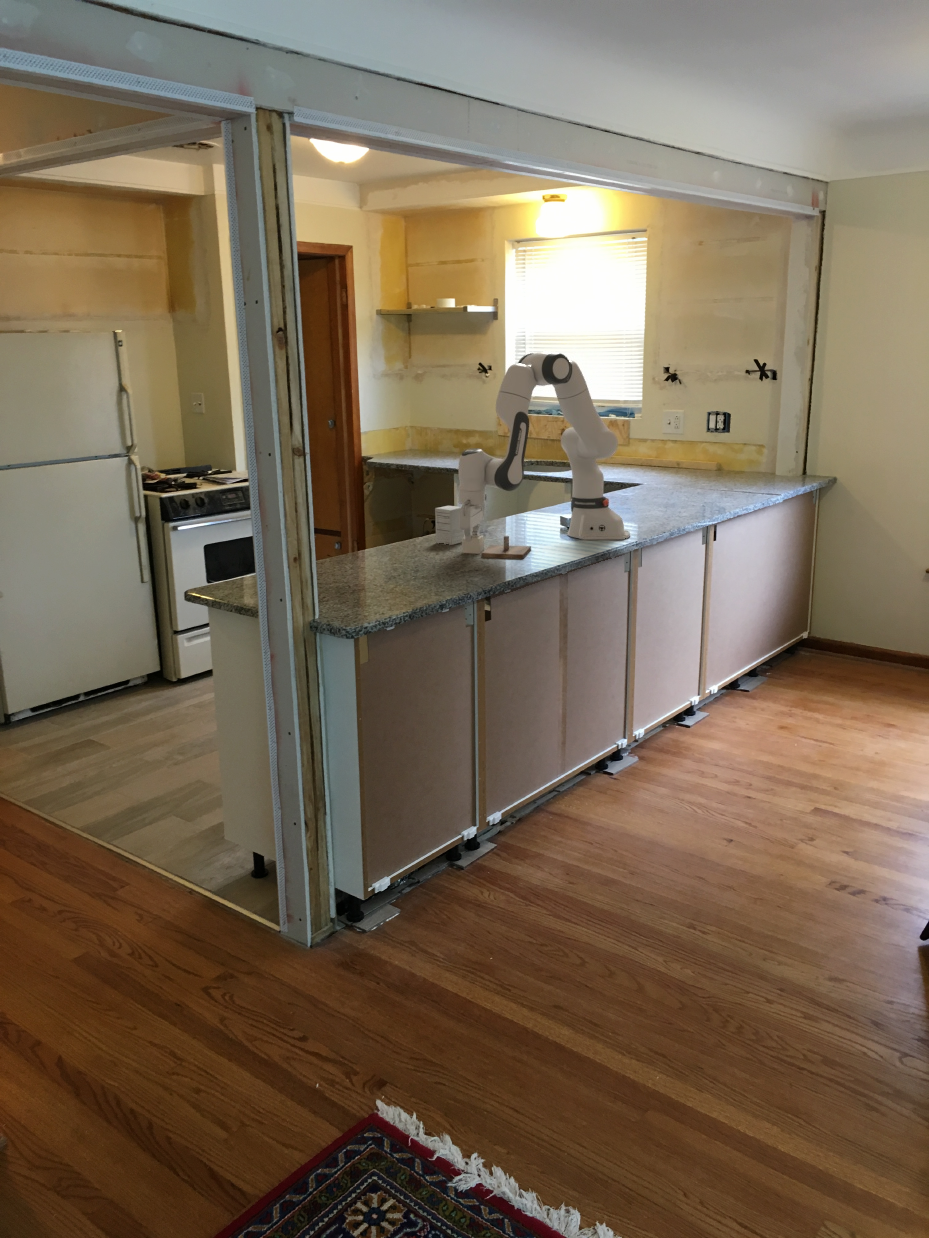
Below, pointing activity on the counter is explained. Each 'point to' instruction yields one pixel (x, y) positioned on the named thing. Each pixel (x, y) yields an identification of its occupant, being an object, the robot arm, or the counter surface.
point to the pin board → (506, 551)
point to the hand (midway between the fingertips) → (471, 538)
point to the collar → (473, 544)
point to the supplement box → (448, 525)
